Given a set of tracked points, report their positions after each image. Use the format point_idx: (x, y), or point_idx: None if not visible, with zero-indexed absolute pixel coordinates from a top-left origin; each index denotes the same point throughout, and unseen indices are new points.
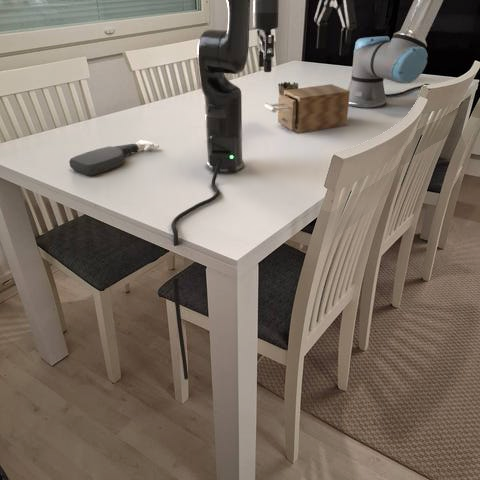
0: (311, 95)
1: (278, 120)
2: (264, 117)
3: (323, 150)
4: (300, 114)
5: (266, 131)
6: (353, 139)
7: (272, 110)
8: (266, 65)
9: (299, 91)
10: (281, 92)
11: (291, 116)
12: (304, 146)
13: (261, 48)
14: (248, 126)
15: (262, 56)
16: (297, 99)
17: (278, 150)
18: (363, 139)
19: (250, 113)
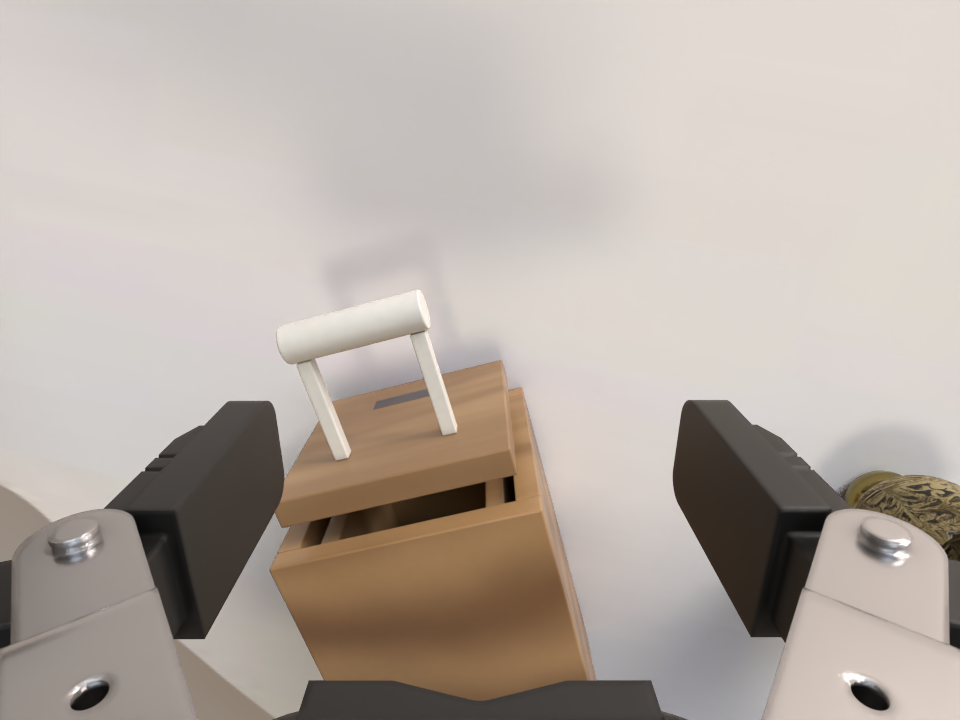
0: (331, 651)
1: (493, 366)
2: (688, 304)
3: (62, 478)
4: None
5: (392, 259)
6: (220, 632)
7: (280, 327)
8: (148, 475)
9: (469, 606)
10: (922, 507)
11: (316, 439)
12: (117, 408)
13: (80, 657)
14: (520, 155)
15: (746, 545)
16: (316, 545)
17: (44, 259)
18: (218, 665)
19: (818, 224)
